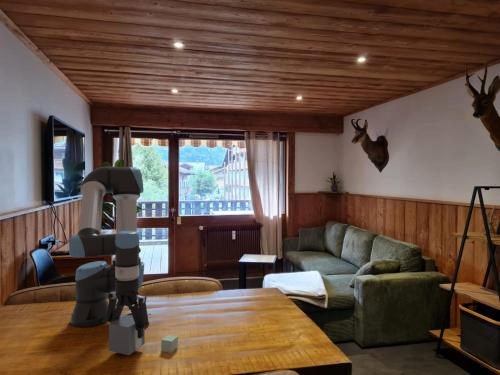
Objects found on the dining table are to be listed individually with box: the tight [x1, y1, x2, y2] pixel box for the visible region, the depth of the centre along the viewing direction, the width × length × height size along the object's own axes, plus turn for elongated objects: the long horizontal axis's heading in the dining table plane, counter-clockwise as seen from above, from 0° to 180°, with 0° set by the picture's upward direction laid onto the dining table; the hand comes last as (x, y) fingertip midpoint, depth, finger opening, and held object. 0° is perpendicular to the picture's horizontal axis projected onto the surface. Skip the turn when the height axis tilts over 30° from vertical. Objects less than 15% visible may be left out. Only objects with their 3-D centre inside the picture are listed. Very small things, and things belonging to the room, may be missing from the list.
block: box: [160, 334, 179, 354], centre depth 116 cm, size 4×4×4 cm
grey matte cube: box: [108, 314, 146, 356], centre depth 113 cm, size 8×8×9 cm
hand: (127, 345), depth 113 cm, fingers closed on grey matte cube, 8 cm apart
